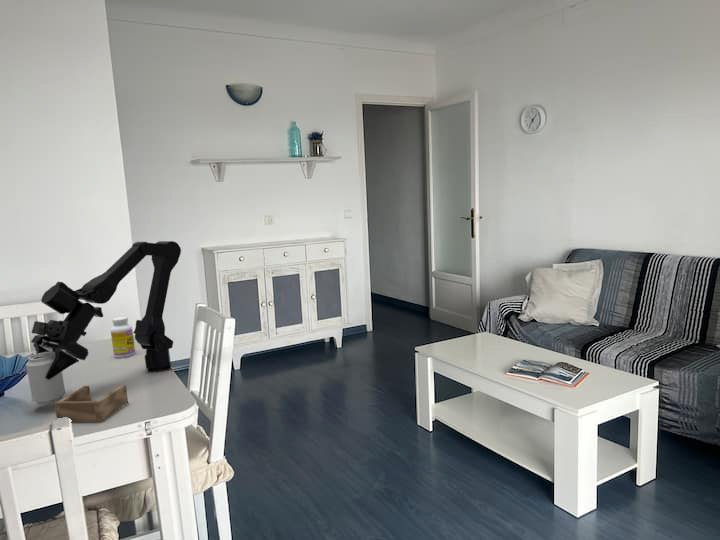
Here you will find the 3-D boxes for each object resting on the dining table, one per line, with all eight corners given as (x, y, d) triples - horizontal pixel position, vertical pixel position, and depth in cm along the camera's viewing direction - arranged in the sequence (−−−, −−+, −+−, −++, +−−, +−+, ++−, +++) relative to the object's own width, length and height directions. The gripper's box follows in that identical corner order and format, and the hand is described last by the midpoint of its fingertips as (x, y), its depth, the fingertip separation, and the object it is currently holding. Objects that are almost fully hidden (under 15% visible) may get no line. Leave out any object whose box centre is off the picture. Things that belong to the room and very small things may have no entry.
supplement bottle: (130, 357, 181) (125, 320, 179) (110, 359, 181) (105, 321, 179) (138, 351, 187) (133, 315, 185) (119, 353, 187) (114, 316, 186)
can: (35, 397, 143) (27, 353, 141) (67, 391, 146) (59, 348, 144) (30, 407, 136) (22, 361, 134) (64, 401, 139) (56, 355, 137)
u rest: (87, 403, 141) (84, 385, 141) (128, 403, 140) (125, 385, 139) (57, 422, 130) (54, 403, 130) (101, 422, 129) (98, 402, 128)
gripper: (32, 305, 146) (-6, 357, 138) (68, 309, 135) (29, 367, 128) (67, 326, 153) (32, 376, 146) (103, 332, 142) (68, 387, 135)
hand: (39, 376), depth 139 cm, fingers closed on can, 7 cm apart
